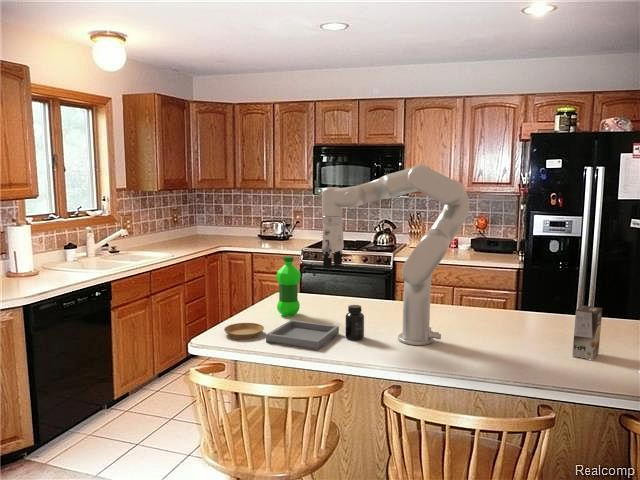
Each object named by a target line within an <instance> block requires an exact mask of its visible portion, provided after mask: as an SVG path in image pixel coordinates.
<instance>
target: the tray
mask: <svg viewBox="0 0 640 480" xmlns="http://www.w3.org/2000/svg"><path fill="white" fill-rule="evenodd" d="M339 328H340V326H338V325H332V324H331V325H330V324H325V323H316V322H309V321H302V320H292V319H290V320H289V321H286V322H285V323H283V324H281V325H280V326H279V327H277V328H274V329H273V330H271V331H269V332H268V333H266V334H265V342H266V343H267V344H273V345H281V346H287V347H293V348H300V349H306V350H313V351H319V350H320V349H321V348H322V347H324V346H325V345H327V344H328V343H330V342H331V341H332V340H333V339H334V338H336V337H337V336H338V335H339V334H340V333H339V332H340V331H339V330H340V329H339Z"/></svg>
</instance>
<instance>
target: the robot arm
mask: <svg viewBox="0 0 640 480" xmlns="http://www.w3.org/2000/svg"><path fill="white" fill-rule="evenodd" d="M466 190H467V189H466V188H465V186H464V185H463V184H462V183H461V182H460V181H458V180H456V179H452V178H450V177H448V176H446V175H444V174H442V173H440V172H438V171H436V170H434V169H433V168H431V167H430V166H429V165H426V164H417V165H414V166H412V167H409V168H406V169H402V170H399V171H395V172H392V173H388V174H385V175H383V176H381V177H379V178H377V179H374V180H372V181H368V182H365V183H362V184H358V185H352V186H347V187H337V186H334V187H333V186H331V187H323V188H322V189H321V222H322V223H321V225H322V246H321V250H322V252H321V253H322V261H323V262H322V263H323V264H322V267H323V269H326V270H327V269H329V270H331V269H333V264H334V265H339V266H340V265H342V264H343V255H342V254H343V251H342V250H343V249H344V248H345V247H344V246H345V245H344V242H345V241H344V231H343V229H344V228H343V207H344V208H348V209H349V208H350V209H351V208H356V207H360V206H362V205H366V204H370V203H373V202H377V201H380V200H386V199H387V200H388V199H389V200H390V199H394V198H397V197H400V196H404V195H408V194H411V193H415V192H419V193H422V194H424V195H425V196H427V197H429V198H432V199H434V200H435V201H437V202H438V203H441V204H443V208H442V211H441V212H440V214H438V217H436V220H435V221H434V223H433V224H432V226H431V227H430V228H429V230H428V231H427V232H425V234H424V235H423V236H422V237H421V239H420V241H418V243H417V244H416V246H415V248H413V251H412V252H411V253H410V255H409V256H408V258H406V260H405V262H404V263H403V265H402V267H401V276H402V278H403V280H404V282H403V300H402V301H403V302H402V303H403V304H402V307H403V308H402V332H401V333H399V334H398V336H397V340H398V341H399V342H401V343H404V344H406V345H410V346H411V345H412V346H425V345H426V346H427V345H430V344H432V343H433V342H434V339H435V340H441V339H442V334H441V333H440V332H438V331H433V330H432V327H430V320H431V319H430V318H431V317H430V316H431V299H432V297H431V296H432V295H431V293H432V277H433V273H434V271H435V270H436V269H437V267H438V266H439V264H441V261H442V260H443V259H444V257H445V256H446V254H447V253H448V250H449V247H450V244H451V243H452V242H453V240H454V238H455V237H456V236H457V234H458V233H459V231H460V230H461V228H462V226H463V225H464V223H465V221H466V220H467V217H468V215H469V211H470V198H469V195H468V193H467V191H466ZM332 254H333V257H332ZM332 258H333V259H332Z"/></svg>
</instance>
